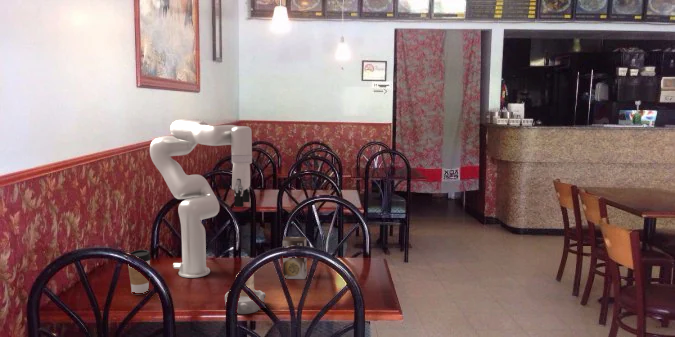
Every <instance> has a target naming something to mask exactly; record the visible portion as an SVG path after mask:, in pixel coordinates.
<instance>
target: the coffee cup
mask: <svg viewBox="0 0 675 337" xmlns="http://www.w3.org/2000/svg"><path fill="white" fill-rule="evenodd" d="M130 253H131V254H133V255H135V256H137V257H139V258H141V259H143V260H144V261H146V262H147V263H148V264H149V265H150V266H151V263H150V262H151V260H152V256H151V253H150V250H148V249H137V250H134V251H131V252H130ZM128 275H129V280H130V288H131V293H132V292H135V293H143V294H145V293H144V292H146V291H148V292H149V290H148V289H149V288H150V287H149V286H150V285H149V284H150V280H149V281H148V280H147V279H146V278H145V277H144V276H143V275H142V274H141V273H140V272H138V271H137V270H135V269H134V268H132V267H130V266H129V265H128ZM146 293H147V292H146Z"/></svg>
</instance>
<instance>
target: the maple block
mask: <svg viewBox="0 0 675 337" xmlns="http://www.w3.org/2000/svg"><path fill="white" fill-rule="evenodd" d="M238 274H239V272H238ZM238 274H237V275H238ZM237 275H236V276H235V278H236V277H237ZM246 286H247V287H248V288H250V289H251V290H252V291H253V292H254V289H255V273H254V274H253V275H252V276H251V277H250V278H249V279H248V281H247V282H246ZM240 296H245V297H249V296H248V295H247V294H246V293H245V292H244V291H243V290H242V291H241V293H240Z"/></svg>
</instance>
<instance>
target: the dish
mask: <svg viewBox="0 0 675 337" xmlns="http://www.w3.org/2000/svg"><path fill="white" fill-rule="evenodd" d="M228 293H229V291H227V292H226V293H225V295H224V302H225V305H226V302H227V297H228ZM254 293H255V294H256V295H257V296H258V297H259V299H260V300H261V301H263V302H264V303H265V299H266V297H267V296H266V293H265V292H264V291H262V290H256V289H255V288H254ZM258 310H259V311H260V310H261V309H260V308H259V306H258V305H257V304H256V303H255V302H254V301H253V300H251V299H250V298H249V297H245V296H240V298H239V301H238V309H237V313H238V315H249V314H253V313H257V312H259V311H258ZM237 313H236V314H237Z"/></svg>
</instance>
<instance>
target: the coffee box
mask: <svg viewBox="0 0 675 337" xmlns="http://www.w3.org/2000/svg"><path fill="white" fill-rule="evenodd" d="M307 238H308V237H306V236H285V237H284V238H283V239H282V247H283V246H290V245H299V246H307V245H308V244H307V241H308V240H307ZM307 258H308V257H307ZM307 258H295V257H292V258H283V257H282V274H284V276H285V278H286V279H287V280H290V279H291V280H306V277H307V275H308V273H307V272H308V264H307V263H308V262H307V261H308V259H307Z"/></svg>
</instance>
